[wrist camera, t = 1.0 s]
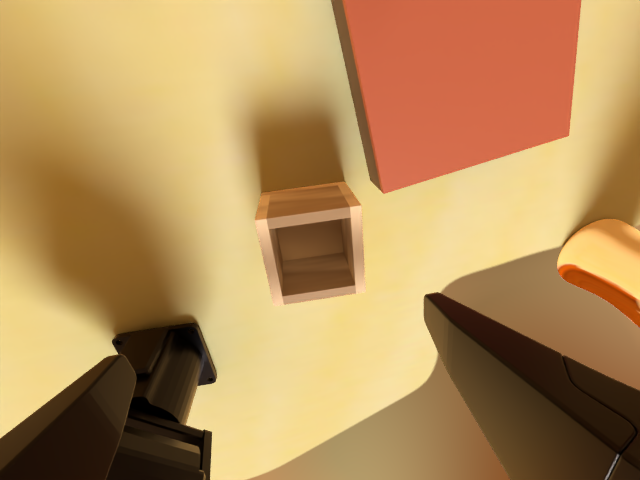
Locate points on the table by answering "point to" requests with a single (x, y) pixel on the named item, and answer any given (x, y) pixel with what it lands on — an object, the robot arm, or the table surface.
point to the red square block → (456, 80)
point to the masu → (311, 242)
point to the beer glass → (605, 264)
